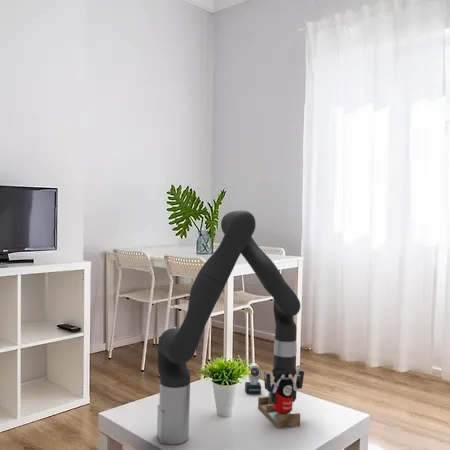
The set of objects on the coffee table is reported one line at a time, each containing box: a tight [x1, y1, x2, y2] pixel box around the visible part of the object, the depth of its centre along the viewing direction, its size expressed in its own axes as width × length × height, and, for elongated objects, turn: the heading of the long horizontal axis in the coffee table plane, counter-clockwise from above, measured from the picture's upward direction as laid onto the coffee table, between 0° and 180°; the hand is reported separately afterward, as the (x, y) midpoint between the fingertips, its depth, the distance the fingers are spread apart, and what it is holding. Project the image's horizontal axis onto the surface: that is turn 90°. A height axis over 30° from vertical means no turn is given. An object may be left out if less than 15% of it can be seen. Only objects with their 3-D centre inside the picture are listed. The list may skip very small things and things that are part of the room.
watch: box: [244, 362, 263, 395], centre depth 197 cm, size 6×8×11 cm
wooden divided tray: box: [257, 382, 301, 429], centre depth 175 cm, size 8×17×10 cm, turn 18°
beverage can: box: [273, 377, 294, 414], centre depth 172 cm, size 6×6×12 cm
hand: (282, 401), depth 172 cm, fingers closed on beverage can, 6 cm apart
